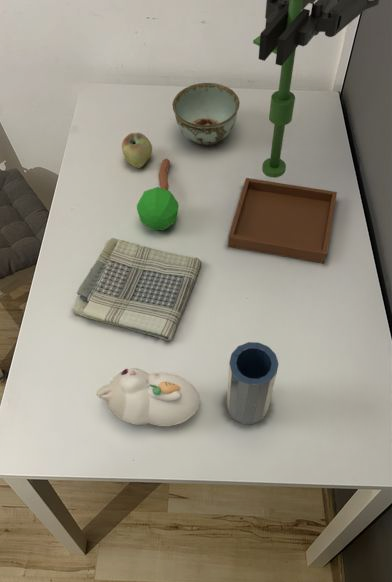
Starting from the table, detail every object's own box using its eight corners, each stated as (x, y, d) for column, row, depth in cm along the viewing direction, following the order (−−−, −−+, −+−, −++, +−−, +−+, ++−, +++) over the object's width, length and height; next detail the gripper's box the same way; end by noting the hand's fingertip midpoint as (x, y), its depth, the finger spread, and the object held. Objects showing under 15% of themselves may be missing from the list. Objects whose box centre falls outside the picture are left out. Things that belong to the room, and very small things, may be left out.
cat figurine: (204, 378, 69) (95, 368, 68) (199, 436, 69) (89, 426, 68) (201, 372, 78) (104, 363, 77) (196, 423, 78) (100, 414, 78)
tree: (153, 181, 106) (141, 241, 93) (143, 147, 100) (129, 206, 88) (188, 176, 105) (181, 236, 92) (180, 141, 99) (172, 200, 86)
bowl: (187, 112, 112) (185, 77, 105) (245, 122, 109) (247, 88, 102) (166, 151, 105) (163, 118, 98) (227, 164, 103) (228, 130, 96)
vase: (271, 391, 78) (281, 347, 65) (263, 429, 75) (273, 389, 62) (232, 383, 78) (235, 337, 66) (223, 419, 75) (225, 379, 63)
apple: (155, 147, 106) (152, 122, 101) (151, 173, 102) (148, 149, 97) (127, 146, 106) (123, 122, 101) (122, 172, 103) (117, 148, 97)
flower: (298, 168, 73) (351, -116, 45) (276, 187, 71) (317, -96, 44) (259, 146, 76) (286, -136, 48) (237, 164, 74) (252, -118, 46)
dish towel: (204, 263, 90) (203, 251, 88) (171, 345, 82) (170, 335, 79) (109, 241, 94) (106, 229, 91) (69, 317, 85) (64, 307, 83)
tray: (334, 201, 97) (337, 191, 95) (323, 263, 90) (326, 254, 87) (245, 187, 99) (245, 177, 97) (228, 246, 92) (228, 236, 90)
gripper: (398, -1, 64) (327, 101, 55) (295, -25, 68) (212, 66, 59) (419, -72, 58) (342, 30, 48) (304, -95, 62) (212, -5, 52)
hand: (271, 49), depth 53 cm, fingers closed on flower
